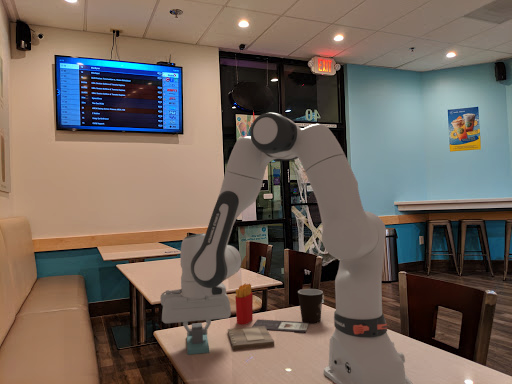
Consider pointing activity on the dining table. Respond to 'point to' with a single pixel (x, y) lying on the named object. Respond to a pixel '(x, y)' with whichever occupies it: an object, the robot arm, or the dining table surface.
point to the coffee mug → (310, 305)
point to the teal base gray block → (197, 340)
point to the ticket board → (250, 338)
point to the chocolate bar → (283, 325)
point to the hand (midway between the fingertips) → (197, 335)
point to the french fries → (244, 304)
